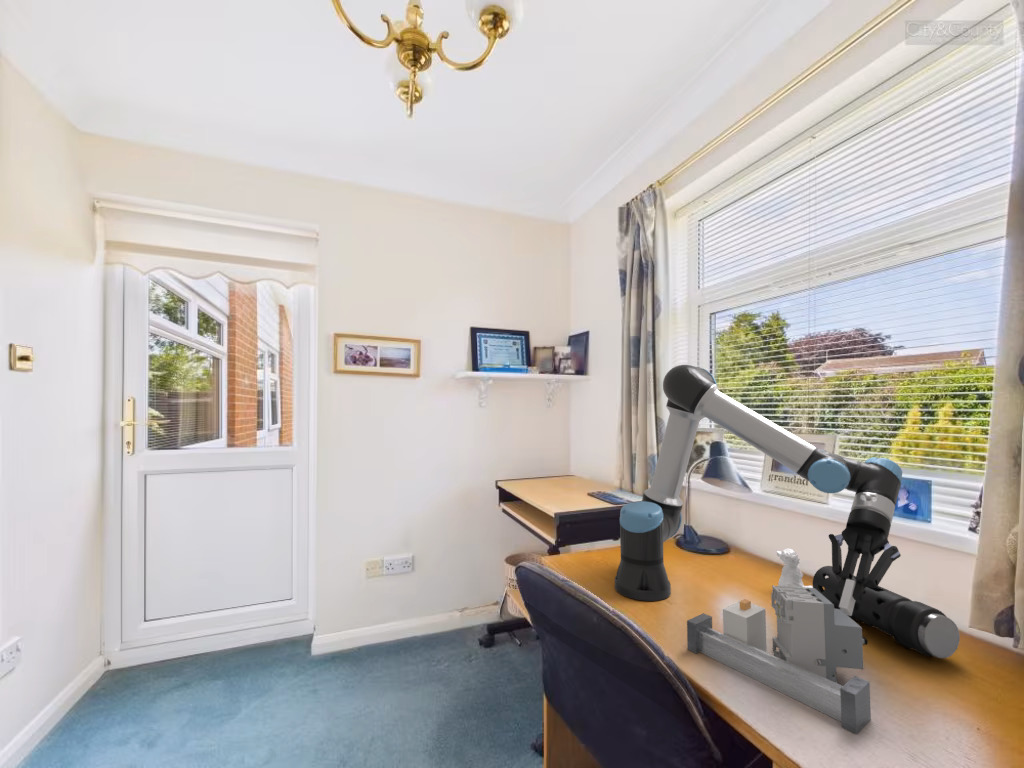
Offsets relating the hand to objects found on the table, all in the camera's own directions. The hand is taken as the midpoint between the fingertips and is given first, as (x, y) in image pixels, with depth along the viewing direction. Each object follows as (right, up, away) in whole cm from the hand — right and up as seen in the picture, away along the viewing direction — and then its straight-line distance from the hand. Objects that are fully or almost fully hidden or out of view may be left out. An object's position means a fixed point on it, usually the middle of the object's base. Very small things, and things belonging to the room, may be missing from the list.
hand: (845, 611), depth 93 cm
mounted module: (-20, -9, +1) cm, 22 cm away
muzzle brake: (+15, -10, +10) cm, 21 cm away
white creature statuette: (+9, -11, +32) cm, 35 cm away
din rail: (-21, -9, -8) cm, 24 cm away
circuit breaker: (-10, -9, -7) cm, 15 cm away
